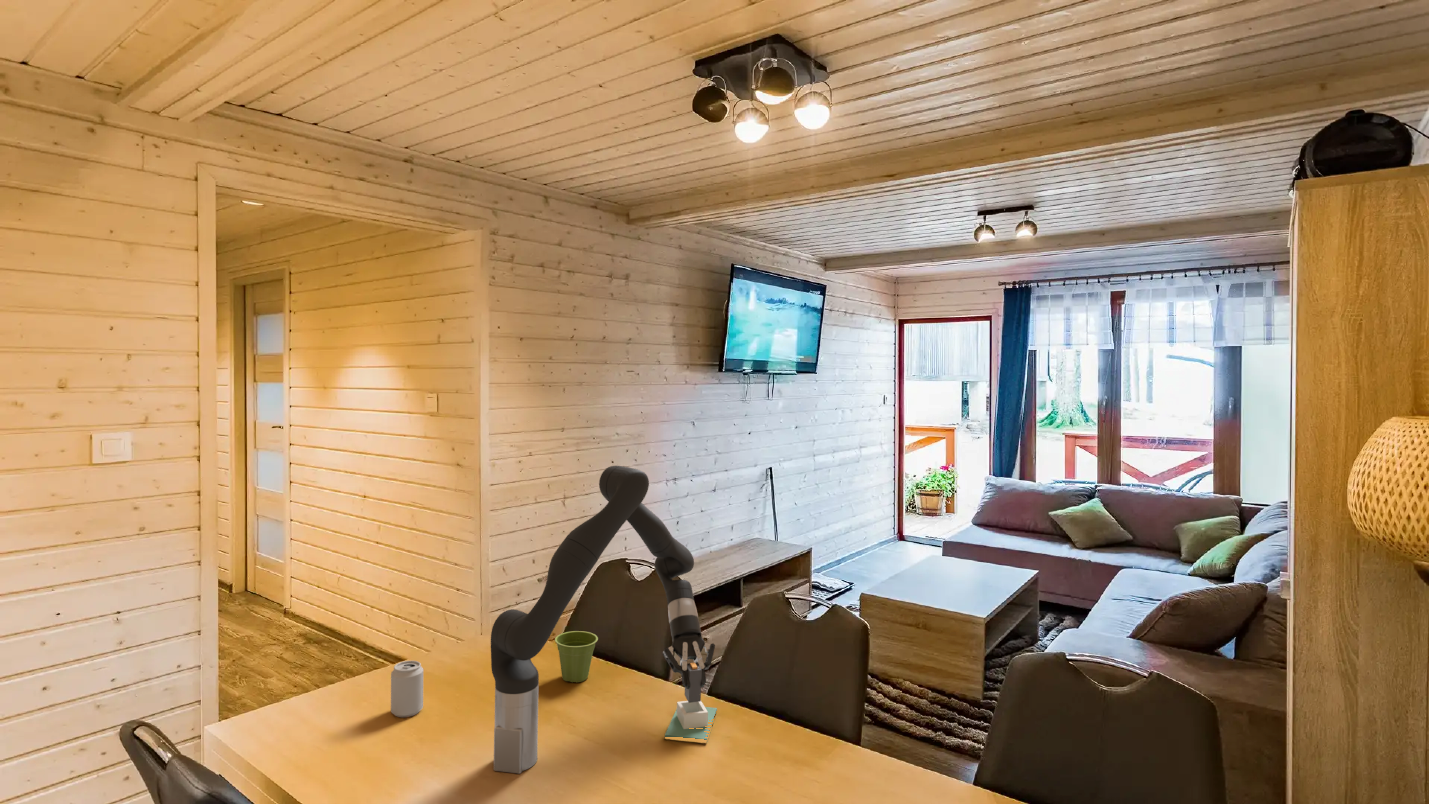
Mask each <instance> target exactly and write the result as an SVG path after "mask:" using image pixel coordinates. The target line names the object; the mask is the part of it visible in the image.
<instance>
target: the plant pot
mask: <svg viewBox="0 0 1429 804" xmlns="http://www.w3.org/2000/svg"><path fill="white" fill-rule="evenodd" d="M598 640H599V637H598V635H596V634H595V633H592V632H590V631H581V630H580V631H579V630H573V631H566V632H563V633H560V634H558V635H556V637H555V638H554V642H555V644H556V646H557V650H558V654H559V655H558V657H559V664H560V671H561V673H560V674H561V678H562V680H563V681H565V682H571V683H573V682H576V683H581V682H584V681H586V680H587V679H588V678H589V675H590V669H591V664H592V659H593V654H594V650H595V647H596V643H597V642H598Z"/></svg>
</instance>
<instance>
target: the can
mask: <svg viewBox="0 0 1429 804" xmlns="http://www.w3.org/2000/svg"><path fill="white" fill-rule="evenodd" d="M423 708H424V668H423V666H422V663H421V662H420V661H417V660H403V661H400V662H398V663H396V664H395V665H394V666H393V670H392V671H391V673H390V712H391V714H392V715H394V716H395V717H398V718H408V717H413V716H415V715H417V714H419V712H421V710H423Z"/></svg>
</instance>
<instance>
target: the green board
mask: <svg viewBox="0 0 1429 804" xmlns="http://www.w3.org/2000/svg"><path fill="white" fill-rule="evenodd" d="M705 708H706V710H707V711H708V722H713V720H712V719H714V716H715V714H716V711H717V712H718V708H717V707H710V706H705ZM716 715H717V714H716ZM709 720H710V721H709ZM711 720H712V721H711ZM708 725H712V724H708ZM698 728H703V729H696V728H694V729H683V727H682V725H681V723H680V721H679V719H678V717H677V708H676V709H675V712H674V714H673V715H672V718H671V720H670V723H669V725H668V727H667V728H666V729H667V730H666V731H665V733H664V738H665V737H683V738H695V739H704V740H707V738H705V737H708V735H706V734H709V733H707V732H704V731H710V730H708V729H705V728H711V727H698Z"/></svg>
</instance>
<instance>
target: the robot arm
mask: <svg viewBox="0 0 1429 804" xmlns="http://www.w3.org/2000/svg"><path fill="white" fill-rule="evenodd" d="M649 483H650V480H649V476H648V475H647V473H646V472H644V471H643V470H640V469H638V468H633V467H629V466H622V465H611V466H608V467H607V468H605V469H604V470H603V471H602V473H601V475H600V477H599V481H598V485H599V491H600V493H601V495H602V497H603V498H604V499H605V500H607V501H608V502H607V503H606V505H605V506H604V507H603V508H601V510H600V511H599V512H598V513H596V514H595V515H593V516H592V517H590V518H589V519H587V520H586V521H583V522H582V523H581V524H579V525H577V527H575V528H574V529H573V530H571V531H570V532H569V533H568V534H567V535H566V537H564V539H563V541H562V542H561V543H560V544H559V546H558V547H557V549H556V550H555V552H554V553H553V555H552V557H551V559H550V562H549V565H548V571H547V574H546V575H547V578H546V582H545V586H544V589H543V591H542V593H541V595H540V597H539V599H537V601H536V603H535V605H534V606H533V607H532V609H530V611H529V612H528V613H527V612H524V611H522V610H520V609H519V610H518V609H508V610H505V611H503V612H502V613H500V614H499V615H498V616H497V618H496V619H495V621H494V623H493V624H492V628H491V632H490V659H491V660H490V663H491V664H490V665H491V667H490V668H491V674H492V676H493V678H494V679H493V680H494V730H493V732H494V733H493V771H496V772H503V773H512V774H522V773H523V771H526V770H529V769H530V768H532V767H533V766H535V764H536V763H537V761H538V743H539V742H538V733H539V731H538V730H539V729H538V728H539V677H540V676H539V675H540V674H539V671H538V669H537V667H536V666H535V664H534V662H533V661H532V660H531V659H533V658H534V657H536V656H537V655H538V654H539V653H540V652H541V651H542V650H543V648H544V646H545V645H546V643H547V642H548V640H549V638H550V636H551V635H552V633H553V631H554V629H555V628H556V625H558V622H559V620H560V618H561V616H562V615H563V613H564V611H565V610H566V608H567V606H568V605H569V603H570V602H571V600H572V599H573V597H574V596H575V594H576V592H577V591H578V589H579V588H580V586H581V585H582V583H583V582H584V581H585V579H586V578H587V576H588V575H589V574H590V572H591V571H592V570H593V568H594V566H595V565H596V563H597V562H598V560H599V559H600V557H601V556H602V554H603V552H604V551H605V550H606V548H607V547H608V545H609V544H610V543H611V541H612V540H613V538H614V537H615V536H616V535H617V533H618V532H619V531H620V529H621V528H622V527H623V525H624V524H625V523H626V522H628V523H629V525H630V526H631V527H632V528H633V529H634V530H635V532H636V533H637V535H638V536H639V537H640V539H641V540H642V542H643V543H644V544H645V546H646V548H647V549H648V550H649V552H650V553H651V554H652V555H653V557H656V558H655V559H654V570H655V572H656V574H657V575H658V578H659V580H660V582H661V584H662V587H663V589H664V592H665V597H666V602H667V612H668V613H667V614H668V623H669V627H670V628H669V629H670V635H671V640H672V642H671V643H672V644H671V646H669V647H665V648H664V649H663V651H662V656H663V658H664V659H665V661H666V662H667V663H668V665H669V667H670V669H671V670H672V672H673V673H679V674H680V675H681V680H682V681H681V682H682V686H683V687H684V688H685V687H686V689H689V688H690V681H689V675H688V671H687V664H688V660H693V663H698V665H699V666H700V668H701V670H702V677H701V688H704V686H705V685H706V683H707V677H706V671H707V670H709V668H710V667H711V664H712V662H713V661H712V660H713V656H714V653H715V649H716V648H715V647H716V644H715V643H714V642H713V643H707V642H705V640H704V638H703V635H702V631H701V625H700V620H699V615H698V610H697V609H698V608H697V606H696V603H695V598H694V594H693V588H692V584H691V582H690V581H688V580H686V579H675V578H676V577H679V576H682V575H686V574H687V573H688V574H689V573H690V572H691V571H692V570H693V569H694V566H695V561H694V556H693V554H692V553H691V551H690V550H689V548H687V547H686V545H684V544H682V543H681V542H680V541H678V540H677V539H676V538H674V537H673V535H672V534H671V532H670V531H669V528H667V526H666V524H664V522H663V521H662V519H660V517H659V516H657V515H656V514H655V513H654V512H652V510H650V509H649V507H647V506H646V505H645V504H643V501H644V499H645V498H646V495H647V494H648V490H649V487H650V484H649ZM703 649H704V651H705V654H706V658H705V662H704V660H703V656H702V652H703ZM674 653H675V655H677V656H678V658H679V662H678V661H677V660H676V658H675V657H674Z"/></svg>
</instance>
